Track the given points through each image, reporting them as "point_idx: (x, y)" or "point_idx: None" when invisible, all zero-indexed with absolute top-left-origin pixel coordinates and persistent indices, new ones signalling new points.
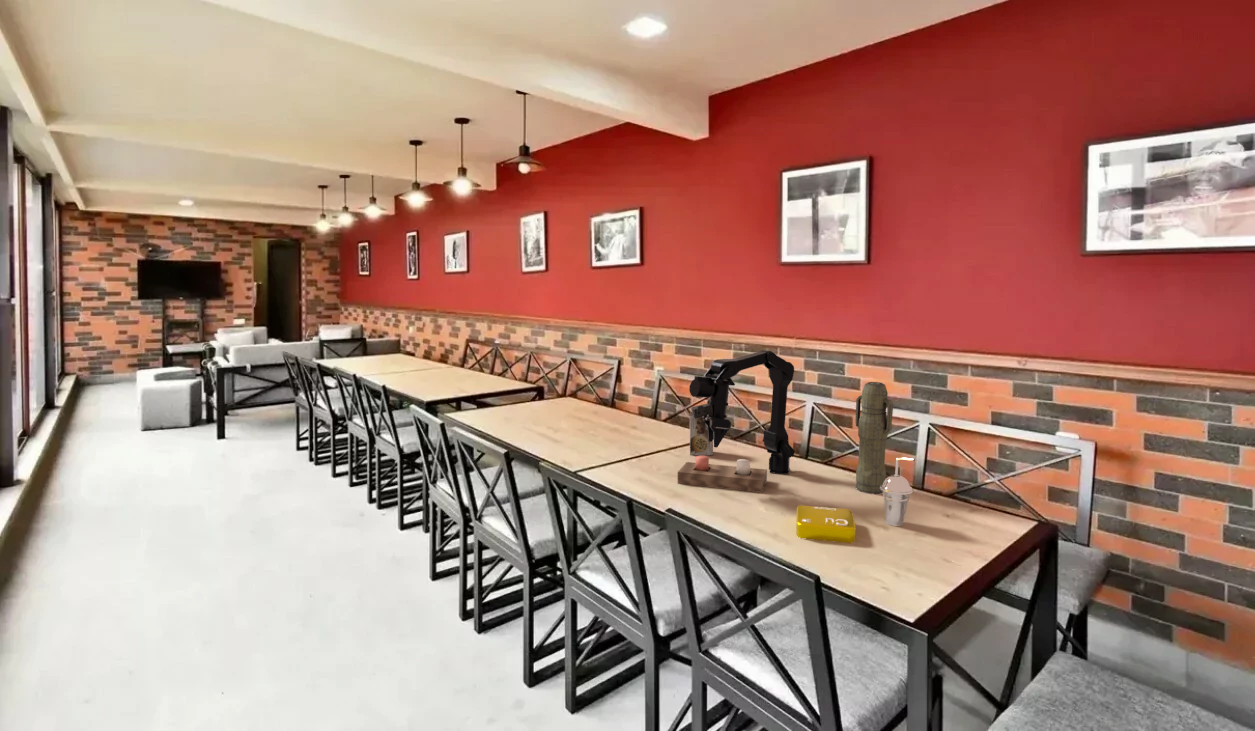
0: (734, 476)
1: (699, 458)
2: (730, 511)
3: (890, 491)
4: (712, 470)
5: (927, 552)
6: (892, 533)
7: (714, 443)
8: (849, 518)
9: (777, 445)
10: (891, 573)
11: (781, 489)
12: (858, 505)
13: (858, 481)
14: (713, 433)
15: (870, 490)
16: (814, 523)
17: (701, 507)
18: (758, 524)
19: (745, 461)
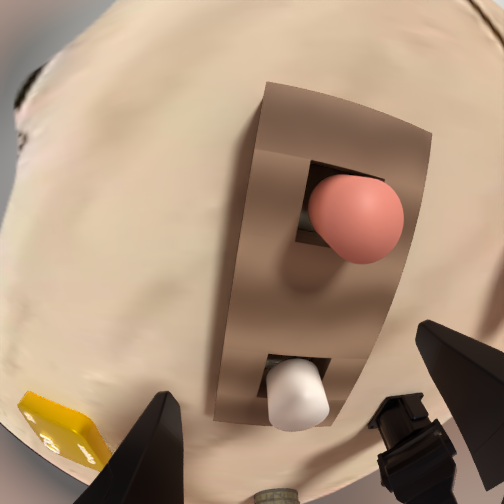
0: (237, 355)
1: (341, 204)
2: (50, 307)
3: None
4: (316, 263)
5: (78, 470)
6: None
7: (140, 419)
8: (73, 460)
9: (388, 478)
10: (20, 428)
11: (253, 425)
12: (192, 483)
13: (268, 502)
14: (110, 500)
15: (255, 498)
16: (29, 421)
17: (43, 228)
18: (27, 351)
19: (293, 421)
